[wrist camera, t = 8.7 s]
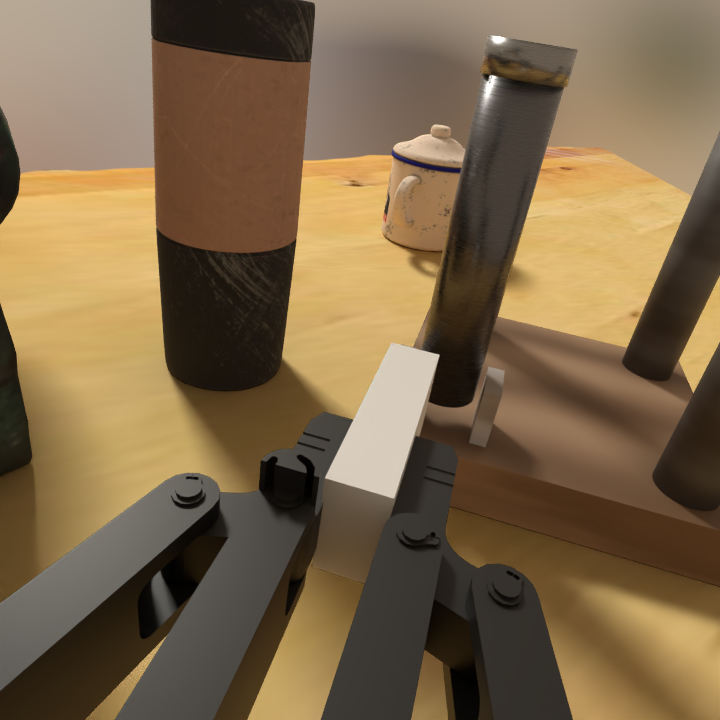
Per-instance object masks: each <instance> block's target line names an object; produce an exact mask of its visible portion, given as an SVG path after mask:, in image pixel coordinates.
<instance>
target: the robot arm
mask: <svg viewBox="0 0 720 720" xmlns="http://www.w3.org/2000/svg"><path fill="white" fill-rule="evenodd" d="M438 359H439V355H438V354H434V353H430V352H426V351H422V350H419V349H415V348H411V347H407V346H403V345H399V344H395V343H391V345H390V347H389V349H388V351H387V353H386V355H385V357H384V359H383V361H382V363H381V365H380V367H379V369H378V371H377V373H376V375H375V377H374V379H373V381H372V383H371V385H370V387H369V389H368V391H367V393H366V395H365V397H364V400H363V402H362V404H361V406H360V408H359V410H358V412H357V414H356V416H355V418H354V420H352V419H348V418H345V417H341V416H338V415H334V414H330V413H327V412H323V413H322V414H320V415H318V416H317V417H315V418H313V419H312V420H311V421H310V422H309V424H308V425H307V427H306V429H305V430H304V432H303V434H302V435H301V437H300V439H299V440H298V443H297V444H296V445H295V447H294V449H280V450H276V451H273V452H271V453H269V454H267V455H266V456H265V457H264V458H263V459H262V460H261V468H260V482H259V490H258V491H253V492H249V493H227V492H220V489H219V487H218V484H217V483H216V482H215V481H214V480H213V479H212V478H210V477H208V476H205V475H203V474H200V473H184V474H180V475H175V476H173V477H171V478H170V479H168V480H166V481H164V482H163V483H162V484H160V485H159V486H158V487H156V488H155V489H153V490H152V491H151V492H149V493H148V494H147V495H145V496H144V497H143V498H141V499H140V500H139V501H137V502H136V503H135V504H133V505H132V506H131V507H129V508H128V509H127V510H125V511H124V512H122V513H121V514H120V515H118V516H117V517H116V518H114V519H113V520H112V521H110V522H109V523H108V524H106V525H105V526H104V527H102V528H101V529H100V530H98V531H97V532H95V533H94V534H93V535H91V536H90V537H89V538H87V539H86V540H85V541H83V542H82V543H81V544H79V545H78V546H77V547H75V548H74V549H73V550H71V551H70V552H68V553H67V554H66V555H64V556H63V557H62V558H60V559H59V560H58V561H56V562H55V563H54V564H52V565H51V566H50V567H48V568H47V569H46V570H44V571H43V572H41V573H40V574H39V575H37V576H36V577H35V578H33V579H32V580H31V581H29V582H28V583H27V584H25V585H24V586H23V587H21V588H20V589H19V590H17V591H16V592H14V593H13V594H12V595H10V596H9V597H8V598H6V599H5V600H4V601H2V602H1V603H0V720H85V719H86V718H87V717H88V716H89V715H90V714H91V713H92V712H93V711H94V710H95V709H96V707H97V706H98V705H99V704H100V703H101V702H102V701H103V700H104V699H105V698H106V697H107V696H108V695H109V694H110V693H111V692H112V691H113V690H114V689H115V688H116V687H117V686H118V685H119V684H120V683H121V682H122V681H123V680H124V679H125V678H126V677H127V676H128V675H129V674H130V673H131V672H132V671H133V669H134V668H135V667H136V666H137V665H138V664H139V663H140V662H141V661H142V660H143V659H144V658H145V657H146V656H147V655H148V654H149V653H150V652H151V651H152V650H153V649H154V648H155V647H156V646H157V645H158V644H159V643H160V642H161V641H162V640H163V639H164V638H165V637H166V636H167V637H166V638H165V640H164V642H163V643H162V645H161V646H160V648H159V650H158V651H157V653H156V654H155V656H154V658H153V659H152V661H151V662H150V664H149V666H148V667H147V669H146V670H145V672H144V674H143V675H142V677H141V678H140V680H139V682H138V683H137V685H136V686H135V688H134V690H133V691H132V693H131V694H130V696H129V698H128V699H127V701H126V702H125V704H124V706H123V707H122V709H121V710H120V712H119V714H118V715H117V717H116V718H115V720H247V719H248V716H249V714H250V712H251V709H252V707H253V705H254V702H255V700H256V698H257V695H258V693H259V691H260V688H261V686H262V684H263V681H264V679H265V677H266V674H267V672H268V670H269V667H270V665H271V663H272V660H273V658H274V656H275V653H276V651H277V649H278V646H279V644H280V642H281V639H282V637H283V635H284V632H285V630H286V628H287V625H288V623H289V621H290V618H291V616H292V614H293V611H294V609H295V607H296V604H297V602H298V600H299V597H300V595H301V593H302V590H303V588H304V585H305V579H306V572H307V569H308V566H309V564H310V562H311V559H312V557H313V562H312V567H314V568H317V569H320V570H323V571H326V572H329V573H332V574H335V575H338V576H342V577H345V578H348V579H351V580H354V581H357V582H360V583H363V584H365V585H364V588H363V591H362V594H361V597H360V600H359V604H358V607H357V610H356V613H355V616H354V619H353V622H352V625H351V628H350V631H349V634H348V637H347V641H346V644H345V647H344V650H343V653H342V656H341V659H340V662H339V665H338V668H337V671H336V674H335V678H334V681H333V684H332V687H331V690H330V693H329V696H328V699H327V702H326V705H325V708H324V711H323V715H322V718H321V720H411V717H412V711H413V706H414V701H415V695H416V690H417V685H418V680H419V674H420V669H421V664H422V659H423V653H424V649H425V650H426V651H427V652H429V653H430V654H432V655H433V656H435V657H436V658H437V659H439V660H440V661H442V662H443V671H444V681H445V690H446V700H447V710H448V720H573V718H572V715H571V711H570V708H569V704H568V701H567V697H566V693H565V690H564V686H563V683H562V679H561V676H560V672H559V668H558V665H557V661H556V658H555V654H554V651H553V647H552V644H551V640H550V636H549V633H548V629H547V626H546V622H545V619H544V615H543V611H542V608H541V604H540V601H539V597H538V594H537V592H536V590H535V588H534V586H533V584H532V583H531V582H530V581H529V580H528V579H527V578H526V577H525V576H524V574H522V573H520V572H519V571H517V570H515V569H514V568H512V567H509V566H506V565H502V564H486V565H484V566H482V567H480V568H476V567H475V566H473V565H471V564H470V563H468V562H467V561H465V560H464V559H462V558H461V557H460V556H458V555H457V553H456V552H455V551H454V550H453V549H452V548H451V546H450V544H449V543H448V541H447V538H446V534H445V528H446V522H447V517H448V511H449V506H450V501H451V496H452V490H453V485H454V480H455V474H456V469H457V464H458V458H457V456H456V453H455V451H454V448H453V446H451V445H447V444H443V443H440V442H436V441H433V440H429V439H425V438H422V437H419V436H420V432H421V429H422V425H423V421H424V417H425V413H426V409H427V405H428V401H429V396H430V392H431V388H432V384H433V380H434V376H435V372H436V368H437V364H438Z"/></svg>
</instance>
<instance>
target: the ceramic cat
mask: <svg viewBox="0 0 720 720" xmlns="http://www.w3.org/2000/svg"><path fill="white" fill-rule="evenodd" d="M19 182H20V166H19V158H18V155H17V152H16V149H15V145H14V142H13V139H12V136H11V133H10V129H9V126H8V122H7V119H6V118H5V115H4V113H3V111H2V109H1V107H0V224H1V223H2V222H3V220H4V219H5V218H6V216H7V215H8V213H9V212H10V211H11V209H12V208H13V205H14V203H15V200H16V198H17V196H18V192H19ZM31 459H32V451H31V444H30V438H29V429H28V420H27V416H26V412H25V407H24V402H23V397H22V393H21V388H20V383H19V379H18V373H17V357H16V351H15V348H14V344H13V341H12V338H11V335H10V332H9V329H8V326H7V323H6V320H5V317H4V314H3V311H2V307H1V304H0V476H1V475H3V474H5V473H7V472H9V471H11V470H14V469H16V468H19V467H21V466H23V465H25V464H27V463H30V462H31Z"/></svg>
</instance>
